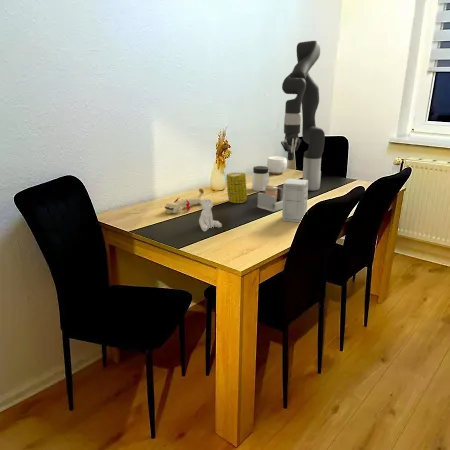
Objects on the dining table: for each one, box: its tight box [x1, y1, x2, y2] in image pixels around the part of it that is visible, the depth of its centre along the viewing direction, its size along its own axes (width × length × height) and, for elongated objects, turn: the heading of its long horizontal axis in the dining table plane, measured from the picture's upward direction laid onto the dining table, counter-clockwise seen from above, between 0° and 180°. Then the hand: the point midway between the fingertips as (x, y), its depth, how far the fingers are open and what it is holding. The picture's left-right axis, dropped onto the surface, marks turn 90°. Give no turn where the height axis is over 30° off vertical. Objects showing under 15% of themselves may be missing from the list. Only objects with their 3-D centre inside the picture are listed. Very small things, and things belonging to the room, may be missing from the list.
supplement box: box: [281, 178, 309, 223], centre depth 196 cm, size 10×9×17 cm
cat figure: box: [164, 188, 205, 215], centre depth 212 cm, size 10×9×25 cm
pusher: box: [277, 187, 283, 202], centre depth 215 cm, size 1×7×8 cm, turn 43°
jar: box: [251, 165, 270, 192], centre depth 245 cm, size 9×8×12 cm
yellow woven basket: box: [226, 172, 248, 205], centre depth 222 cm, size 15×12×10 cm
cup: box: [266, 155, 288, 175], centre depth 283 cm, size 12×12×10 cm
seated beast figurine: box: [198, 198, 223, 232], centre depth 186 cm, size 10×9×12 cm
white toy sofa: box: [256, 191, 283, 213], centre depth 216 cm, size 17×10×7 cm, turn 133°
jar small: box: [264, 185, 279, 203], centre depth 212 cm, size 6×6×9 cm
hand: (290, 160), depth 216 cm, fingers closed
